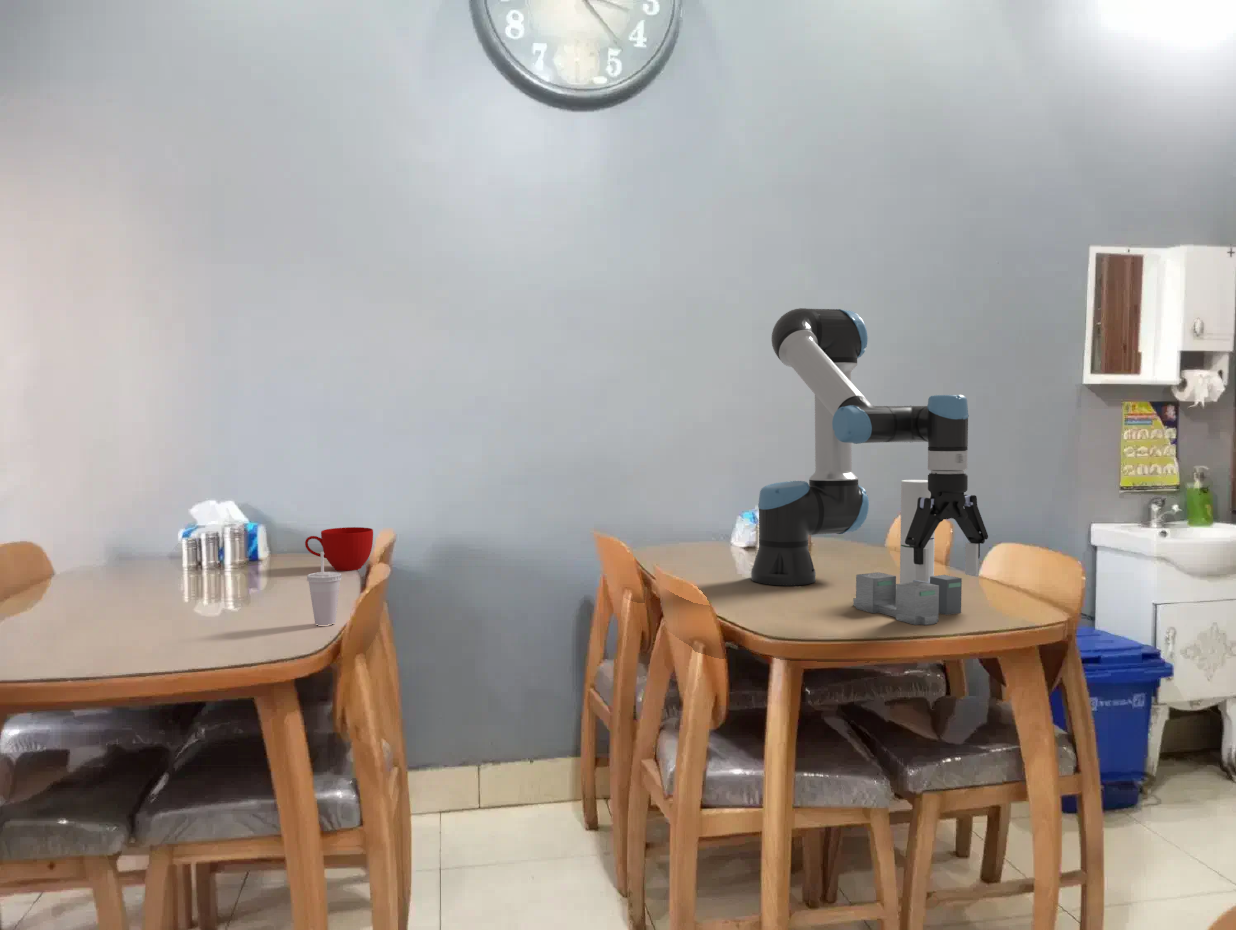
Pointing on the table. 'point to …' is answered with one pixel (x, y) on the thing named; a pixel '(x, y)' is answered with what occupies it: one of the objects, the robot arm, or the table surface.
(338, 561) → the ceramic cup
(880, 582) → the grey stepped block assembly
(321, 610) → the smoothie
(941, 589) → the block
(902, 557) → the cylindrical container
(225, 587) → the table surface
